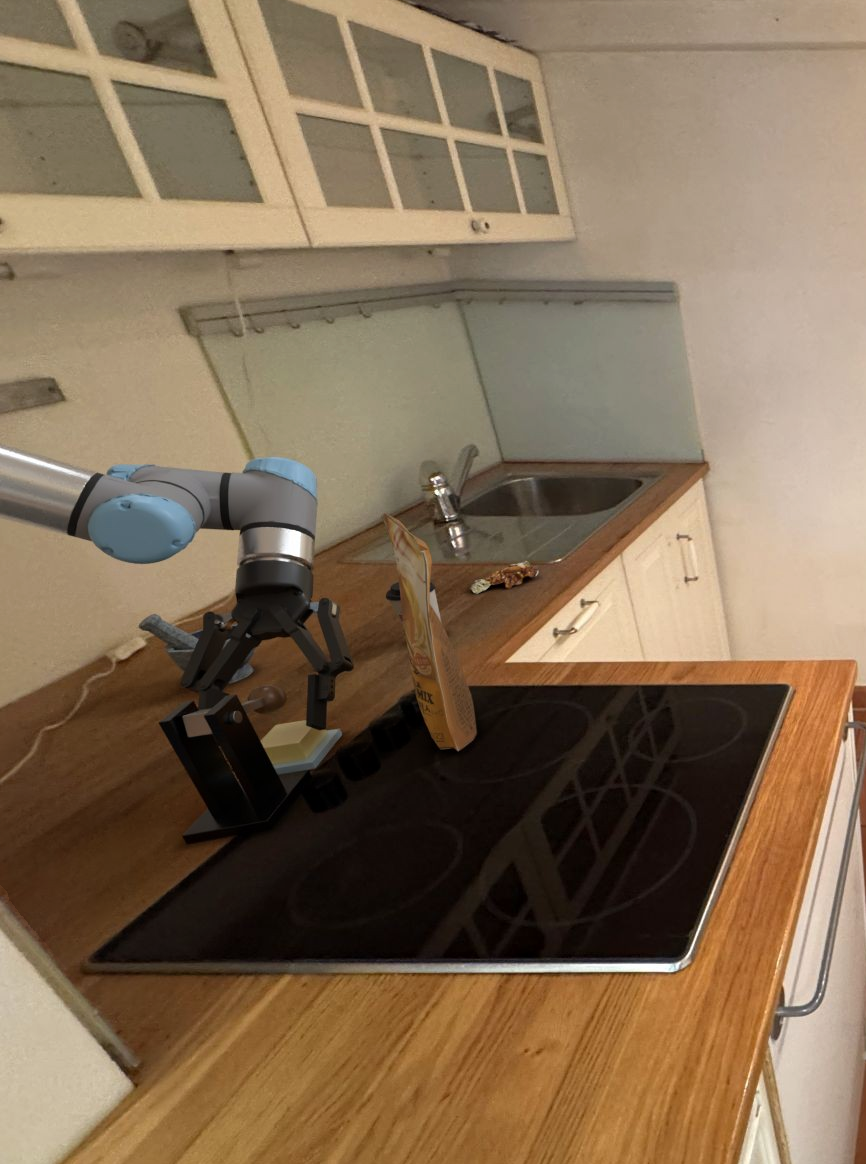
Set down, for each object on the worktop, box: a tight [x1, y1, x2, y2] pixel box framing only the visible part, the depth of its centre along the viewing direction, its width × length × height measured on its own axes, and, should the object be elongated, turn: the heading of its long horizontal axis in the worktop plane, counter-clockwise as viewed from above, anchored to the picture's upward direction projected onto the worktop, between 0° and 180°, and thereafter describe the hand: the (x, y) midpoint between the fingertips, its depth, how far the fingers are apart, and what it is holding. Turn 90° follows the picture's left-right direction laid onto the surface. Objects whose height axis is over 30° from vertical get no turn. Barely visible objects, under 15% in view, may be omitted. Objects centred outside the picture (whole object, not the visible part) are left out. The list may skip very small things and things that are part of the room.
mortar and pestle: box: [137, 613, 256, 685], centre depth 116 cm, size 11×9×12 cm
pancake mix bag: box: [380, 512, 478, 752], centre depth 99 cm, size 7×19×28 cm, turn 38°
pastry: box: [469, 560, 540, 595], centre depth 150 cm, size 7×12×4 cm, turn 138°
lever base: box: [158, 694, 313, 845], centre depth 86 cm, size 10×8×14 cm
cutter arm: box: [182, 684, 288, 737], centre depth 89 cm, size 14×4×4 cm, turn 15°
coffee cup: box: [385, 581, 442, 628], centre depth 127 cm, size 7×7×10 cm
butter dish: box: [260, 719, 343, 775], centre depth 98 cm, size 7×8×4 cm
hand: (265, 735), depth 93 cm, fingers open, 10 cm apart
